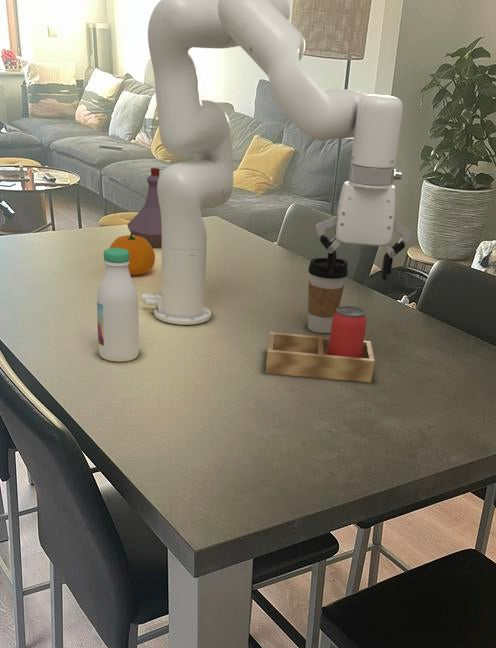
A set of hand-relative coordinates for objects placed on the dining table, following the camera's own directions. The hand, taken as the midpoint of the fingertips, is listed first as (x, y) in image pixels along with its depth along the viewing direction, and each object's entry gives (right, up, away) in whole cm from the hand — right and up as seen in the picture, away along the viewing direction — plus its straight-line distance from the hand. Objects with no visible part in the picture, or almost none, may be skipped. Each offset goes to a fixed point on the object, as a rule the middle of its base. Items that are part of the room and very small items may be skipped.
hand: (357, 275), depth 143 cm
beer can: (-2, -16, +10) cm, 19 cm away
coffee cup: (-4, -3, +30) cm, 30 cm away
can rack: (-7, -15, +10) cm, 19 cm away
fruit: (-51, +18, +55) cm, 77 cm away
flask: (-48, +34, +80) cm, 99 cm away
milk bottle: (-46, -13, +8) cm, 48 cm away
